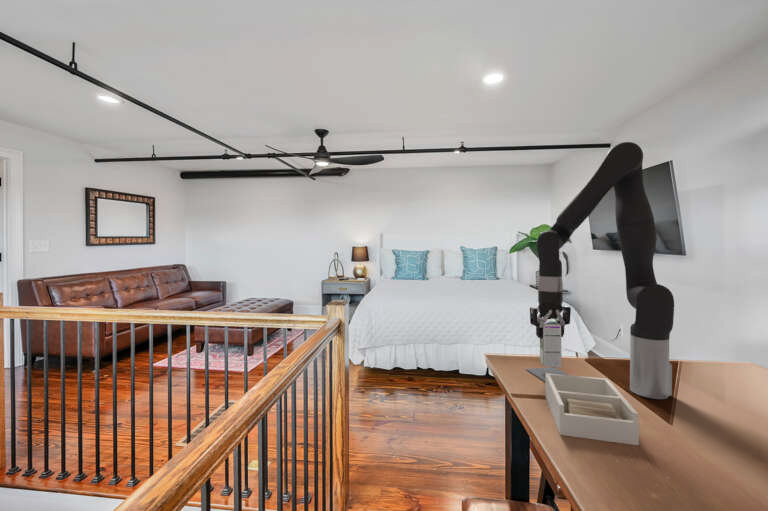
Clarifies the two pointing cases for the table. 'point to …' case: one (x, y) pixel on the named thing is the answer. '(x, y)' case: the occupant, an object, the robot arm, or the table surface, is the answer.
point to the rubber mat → (541, 372)
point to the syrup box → (551, 344)
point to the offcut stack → (591, 409)
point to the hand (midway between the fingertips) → (550, 337)
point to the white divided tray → (584, 425)
